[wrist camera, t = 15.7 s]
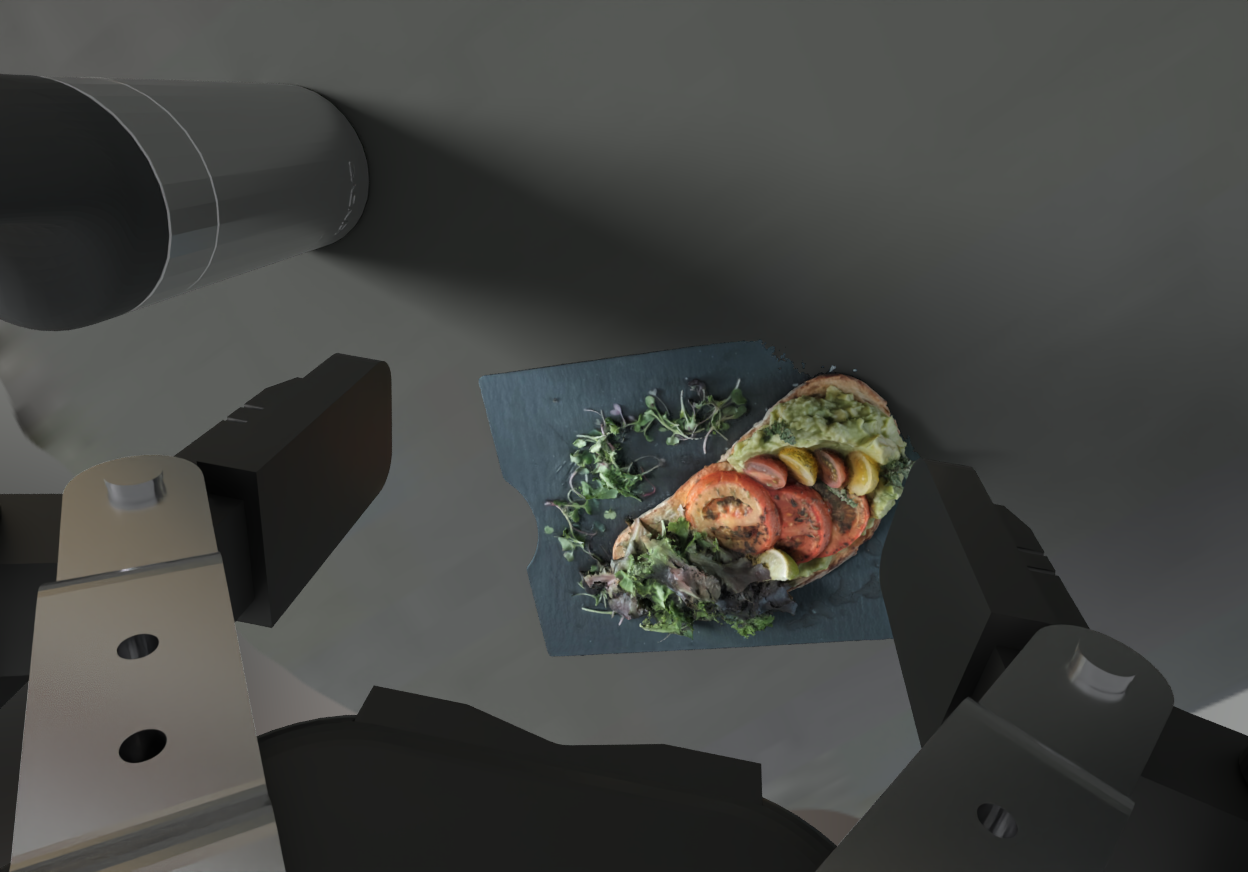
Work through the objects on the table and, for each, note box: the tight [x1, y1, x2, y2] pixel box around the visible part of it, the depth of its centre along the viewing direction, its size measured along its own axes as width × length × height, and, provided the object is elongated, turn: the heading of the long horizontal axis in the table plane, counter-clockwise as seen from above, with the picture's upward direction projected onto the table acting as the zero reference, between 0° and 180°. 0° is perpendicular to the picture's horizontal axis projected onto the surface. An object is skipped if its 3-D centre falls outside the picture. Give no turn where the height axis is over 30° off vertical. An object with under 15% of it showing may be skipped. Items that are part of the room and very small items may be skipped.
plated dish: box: [479, 339, 920, 656], centre depth 48 cm, size 35×28×7 cm
